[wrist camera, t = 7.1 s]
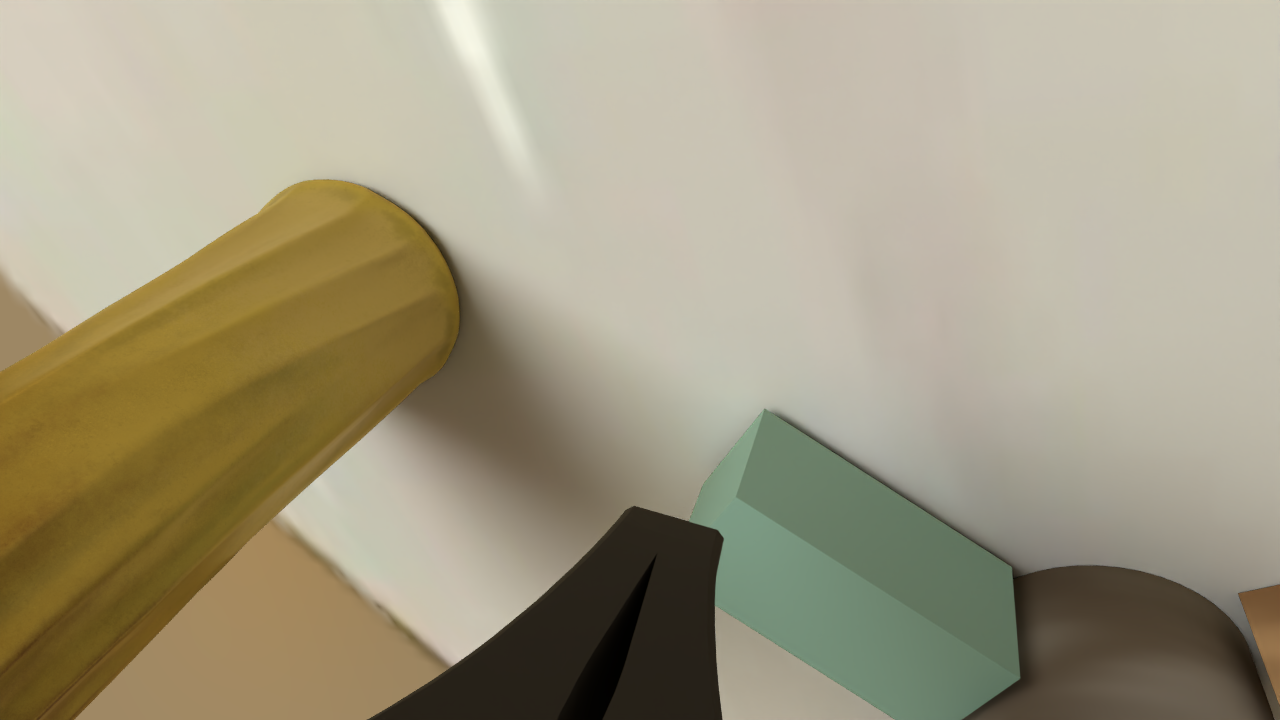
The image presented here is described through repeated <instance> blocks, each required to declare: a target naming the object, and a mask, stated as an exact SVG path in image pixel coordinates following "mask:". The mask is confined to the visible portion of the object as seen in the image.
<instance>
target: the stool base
mask: <svg viewBox="0 0 1280 720" xmlns="http://www.w3.org/2000/svg"><path fill="white" fill-rule="evenodd" d="M1013 589H1014V602H1015V615H1016V628H1017V641H1018V654H1019V667H1020V679H1019V680H1018V681H1016V682H1015V683H1013V684H1012V685H1011V686H1009V687H1008V688H1006V689H1005V690H1003V691H1002V692H1001V693H999V694H998V695H996V696H995V697H993V698H992V699H991V700H989V701H988V702H986V703H985V704H983V705H982V706H981V707H979V708H978V709H976V710H975V711H973V712H972V713H971V714H969V715H968V716H966V717H965V718H963V719H962V720H1275V719H1274V717H1273V714H1272V711H1271V708H1270V705H1269V703H1268V700H1267V697H1266V694H1265V691H1264V689H1263V686H1262V683H1261V680H1260V678H1259V675H1258V672H1257V669H1256V666H1255V664H1254V661H1253V658H1252V655H1251V653H1250V650H1249V647H1248V645H1247V642H1246V640H1245V639H1244V637H1243V636H1242V634H1241V632H1240V631H1239V629H1238V628H1237V627H1236V625H1235V624H1234V623H1233V622H1232V621H1231V620H1230V618H1229V617H1228V616H1227V615H1226V614H1225V613H1223V612H1222V611H1221V610H1220V609H1219V608H1218V607H1217V606H1215V605H1214V604H1213V603H1211V602H1210V601H1208V600H1207V599H1205V598H1204V597H1202V596H1201V595H1199V594H1198V593H1196V592H1194V591H1192V590H1190V589H1188V588H1186V587H1184V586H1182V585H1180V584H1178V583H1175V582H1173V581H1170V580H1167V579H1165V578H1162V577H1159V576H1156V575H1152V574H1148V573H1145V572H1141V571H1136V570H1131V569H1125V568H1119V567H1108V566H1069V567H1058V568H1052V569H1047V570H1042V571H1037V572H1034V573H1030V574H1027V575H1024V576H1021V577H1018V578H1016V579H1013ZM1238 594H1239V597H1240V600H1241V602H1242V605H1243V608H1244V611H1245V613H1246V616H1247V619H1248V621H1249V624H1250V627H1251V629H1252V632H1253V635H1254V638H1255V640H1256V643H1257V646H1258V648H1259V651H1260V654H1261V656H1262V659H1263V662H1264V665H1265V667H1266V670H1267V673H1268V675H1269V678H1270V681H1271V684H1272V686H1273V689H1274V692H1275V694H1276V697H1277V700H1278V702H1279V705H1280V585H1276V586H1271V587H1267V588H1262V589H1257V590H1252V591H1248V592H1243V593H1238Z"/></svg>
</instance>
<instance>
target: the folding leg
mask: <svg viewBox="0 0 1280 720" xmlns="http://www.w3.org/2000/svg"><path fill="white" fill-rule="evenodd" d="M689 522H692V523H696V524H699V525H703V526H706V527H710V528H713V529H716V530H718V531H719V532H720V534H721V535H722V536H723V538H724V541H723V546H722V551H721V556H720V560H719V565H718V570H717V575H716V587H715V606H717V607H718V608H720V609H722V610H723V611H725V612H726V613H728V614H729V615H731V616H733V617H734V618H736V619H737V620H739V621H740V622H742V623H744V624H745V625H747V626H748V627H750V628H752V629H753V630H755V631H756V632H758V633H759V634H761V635H763V636H764V637H766V638H767V639H769V640H770V641H772V642H774V643H775V644H777V645H778V646H780V647H781V648H783V649H785V650H786V651H788V652H789V653H791V654H793V655H794V656H796V657H797V658H799V659H800V660H802V661H804V662H805V663H807V664H808V665H810V666H811V667H813V668H815V669H816V670H818V671H819V672H821V673H822V674H824V675H826V676H827V677H829V678H830V679H832V680H833V681H835V682H837V683H838V684H840V685H841V686H843V687H845V688H846V689H848V690H849V691H851V692H852V693H854V694H856V695H857V696H859V697H860V698H862V699H863V700H865V701H867V702H868V703H870V704H871V705H873V706H874V707H876V708H878V709H879V710H881V711H882V712H884V713H886V714H887V715H889V716H890V717H892V718H893V719H895V720H962V719H963V718H965V717H966V716H968V715H969V714H971V713H972V712H973V711H975V710H976V709H978V708H979V707H981V706H982V705H983V704H985V703H986V702H988V701H989V700H991V699H992V698H993V697H995V696H996V695H998V694H999V693H1001V692H1002V691H1003V690H1005V689H1006V688H1008V687H1009V686H1011V685H1012V684H1013V683H1015V682H1016V681H1018V680H1019V679H1020V667H1019V654H1018V641H1017V628H1016V615H1015V602H1014V589H1013V576H1012V567H1011V566H1009V565H1008V564H1006V563H1005V562H1003V561H1002V560H1000V559H998V558H997V557H995V556H994V555H992V554H991V553H989V552H988V551H986V550H984V549H983V548H981V547H980V546H978V545H977V544H975V543H974V542H972V541H970V540H969V539H967V538H966V537H964V536H963V535H961V534H960V533H958V532H956V531H955V530H953V529H952V528H950V527H949V526H947V525H945V524H944V523H942V522H941V521H939V520H938V519H936V518H935V517H933V516H931V515H930V514H928V513H927V512H925V511H924V510H922V509H921V508H919V507H917V506H916V505H914V504H913V503H911V502H910V501H908V500H907V499H905V498H903V497H902V496H900V495H899V494H897V493H896V492H894V491H892V490H891V489H889V488H888V487H886V486H885V485H883V484H882V483H880V482H878V481H877V480H875V479H874V478H872V477H871V476H869V475H868V474H866V473H864V472H863V471H861V470H860V469H858V468H857V467H855V466H854V465H852V464H850V463H849V462H847V461H846V460H844V459H843V458H841V457H839V456H838V455H836V454H835V453H833V452H832V451H830V450H829V449H827V448H825V447H824V446H822V445H821V444H819V443H818V442H816V441H815V440H813V439H811V438H810V437H808V436H807V435H805V434H804V433H802V432H801V431H799V430H797V429H796V428H794V427H793V426H791V425H790V424H788V423H786V422H785V421H783V420H782V419H780V418H779V417H777V416H776V415H774V414H772V413H771V412H769V411H768V410H766V409H764V410H763V411H762V413H761V414H760V415H759V416H758V417H757V419H756V420H755V421H754V422H753V424H752V425H751V426H750V427H749V428H748V430H747V431H746V432H745V433H744V435H743V436H742V437H741V438H740V440H739V441H738V442H737V443H736V444H735V446H734V447H733V448H732V449H731V451H730V452H729V453H728V454H727V456H726V457H725V458H724V459H723V460H722V462H721V463H720V464H719V465H718V467H717V468H716V469H715V470H714V472H713V473H712V474H711V475H710V476H709V478H708V479H707V480H706V481H705V483H704V484H703V486H702V489H701V491H700V494H699V497H698V499H697V502H696V504H695V507H694V510H693V512H692V515H691V517H690V520H689Z"/></svg>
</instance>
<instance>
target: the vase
mask: <svg viewBox="0 0 1280 720" xmlns="http://www.w3.org/2000/svg"><path fill="white" fill-rule="evenodd" d="M459 324H460V309H459V299H458V294H457V290H456V286H455V283H454V280H453V277H452V275H451V272H450V270H449V267H448V265H447V263H446V261H445V259H444V257H443V256H442V254H441V252H440V250H439V249H438V247H437V246H436V245H435V243H434V242H433V241H432V239H431V238H430V237H429V235H428V234H427V233H426V231H425V230H424V229H423V228H422V227H421V226H420V225H419V224H418V223H417V222H416V221H415V220H414V219H413V218H412V217H411V216H409V215H408V214H407V213H406V212H405V211H403V210H402V209H400V208H399V207H398V206H396V205H395V204H393V203H391V202H390V201H388V200H386V199H385V198H383V197H381V196H380V195H378V194H376V193H374V192H372V191H371V190H369V189H367V188H365V187H362V186H359V185H357V184H354V183H349V182H345V181H339V180H329V179H328V180H309V181H303V182H300V183H297V184H294V185H292V186H290V187H288V188H286V189H285V190H283V191H282V192H280V193H279V194H277V195H276V196H275V197H274V198H273V199H271V200H270V201H269V202H268V203H267V204H266V205H265V206H264V207H263V208H262V209H261V211H260V212H259V213H258V214H256V215H254V216H253V217H251V218H249V219H248V220H246V221H244V222H243V223H241V224H240V225H238V226H236V227H235V228H233V229H232V230H230V231H228V232H227V233H225V234H224V235H222V236H221V237H219V238H218V239H216V240H215V241H213V242H212V243H210V244H209V245H207V246H206V247H204V248H203V249H201V250H200V251H198V252H197V253H195V254H194V255H192V256H191V257H189V258H188V259H186V260H185V261H183V262H182V263H180V264H179V265H177V266H175V267H174V268H172V269H170V270H169V271H167V272H165V273H164V274H162V275H160V276H159V277H157V278H155V279H154V280H152V281H150V282H149V283H147V284H145V285H144V286H142V287H140V288H139V289H137V290H135V291H134V292H132V293H130V294H129V295H127V296H125V297H123V298H122V299H120V300H118V301H117V302H115V303H113V304H112V305H110V306H108V307H107V308H105V309H103V310H102V311H100V312H98V313H97V314H95V315H94V316H92V317H90V318H89V319H87V320H86V321H84V322H82V323H81V324H79V325H78V326H76V327H74V328H73V329H71V330H70V331H68V332H66V333H65V334H63V335H62V336H60V337H58V338H57V339H55V340H54V341H52V342H50V343H49V344H48V345H46V346H44V347H42V348H41V349H39V350H37V351H36V352H34V353H32V354H31V355H29V356H27V357H25V358H24V359H22V360H20V361H19V362H17V363H15V364H13V365H12V366H10V367H8V368H6V369H5V370H3V371H1V372H0V720H74V719H75V718H76V717H77V716H78V715H79V714H80V713H81V712H82V711H83V710H84V709H85V708H86V707H87V706H88V705H89V704H90V703H91V702H92V701H93V700H94V699H95V698H96V697H97V696H98V695H99V694H100V693H101V692H102V691H103V690H104V689H105V688H106V687H107V686H108V685H109V684H110V683H111V682H112V681H113V680H114V679H115V678H116V676H117V675H118V674H119V673H120V672H121V671H122V670H123V669H124V668H125V667H126V666H127V665H128V664H129V663H130V662H131V661H132V660H133V659H134V658H135V657H136V656H137V655H138V654H139V652H141V651H142V650H143V649H144V647H146V646H147V645H148V643H149V642H150V641H151V640H152V639H153V638H154V637H155V636H156V635H157V634H158V633H159V632H160V631H161V630H162V629H163V628H164V627H165V626H166V625H167V624H168V623H169V622H170V621H171V620H172V619H173V618H174V617H175V615H177V614H178V612H179V611H180V610H181V609H182V608H183V607H184V606H185V605H186V604H187V603H188V602H189V601H190V600H191V599H192V598H193V597H194V596H195V594H196V593H197V592H198V591H199V590H200V589H202V588H203V587H204V585H206V584H207V583H208V582H209V581H210V580H211V579H212V578H213V577H214V576H215V575H216V574H217V573H218V572H219V571H220V570H221V569H222V568H223V567H224V566H225V565H226V564H227V563H228V562H229V561H230V560H231V559H232V558H233V557H234V556H235V554H237V552H238V551H239V550H240V549H241V548H242V547H243V546H244V545H245V544H246V543H247V542H248V541H249V540H250V539H251V538H252V537H253V536H254V535H256V534H257V533H258V532H259V531H260V530H261V529H262V528H263V527H264V526H265V525H266V524H267V523H268V522H269V521H270V520H272V519H273V518H274V517H275V516H276V515H277V514H278V513H279V512H280V511H281V510H282V509H284V508H285V507H286V506H287V505H288V504H289V503H290V502H291V501H292V500H293V499H294V498H295V497H297V496H298V495H299V494H300V493H301V492H302V491H303V490H304V489H305V488H306V487H308V486H309V485H310V484H311V483H312V482H313V481H314V480H315V479H316V478H318V477H319V476H320V475H321V474H322V473H323V472H324V471H326V470H327V469H328V468H329V467H330V466H331V465H332V464H333V463H335V462H336V461H337V460H338V459H339V458H340V457H341V456H343V455H344V454H345V453H346V452H347V451H348V450H349V449H351V448H352V447H353V446H354V445H355V444H356V443H357V442H358V441H360V440H361V439H362V438H363V437H364V436H365V435H366V434H367V433H368V432H369V431H371V430H372V429H373V428H374V427H375V426H376V425H377V424H378V423H379V422H380V421H382V420H383V419H384V418H385V417H386V416H387V415H388V414H389V413H390V412H391V411H392V410H393V409H395V408H396V407H397V406H398V405H399V404H400V403H401V402H402V401H403V400H404V399H405V398H406V397H407V396H408V395H409V394H410V393H411V392H412V391H413V390H415V389H416V388H417V387H418V386H419V385H420V384H421V383H423V382H424V381H426V380H428V379H429V378H431V377H432V376H434V375H435V374H436V373H437V372H438V371H439V370H440V369H441V368H442V367H443V366H444V364H445V362H446V361H447V359H448V357H449V355H450V353H451V351H452V349H453V347H454V344H455V341H456V339H457V336H458V332H459Z"/></svg>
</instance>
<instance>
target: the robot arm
mask: <svg viewBox="0 0 1280 720" xmlns="http://www.w3.org/2000/svg"><path fill="white" fill-rule="evenodd" d="M723 541H724V538H723V536H722V535H721V534H720V532H719V531H718V530H716V529H713V528H710V527H706V526H703V525H699V524H696V523H692V522H689V521H685V520H682V519H678V518H675V517H671V516H668V515H664V514H661V513H657V512H654V511H650V510H647V509H643V508H640V507H636V506H633V507H631V508H629V509H627V510H625V512H624V513H623V514H622V515H621V517H620V518H619V519H618V520H617V521H616V523H615V524H614V525H613V526H612V527H611V528H610V529H609V530H608V532H607V533H606V534H605V535H604V536H603V537H602V538H601V539H600V540H599V541H598V542H597V543H596V544H595V546H594V547H593V548H592V549H591V550H590V551H589V552H588V553H587V554H586V555H585V556H584V557H583V558H582V559H581V560H580V561H579V562H578V563H577V564H576V565H575V566H574V567H573V568H571V569H570V570H569V571H568V572H567V573H566V574H565V575H564V576H563V577H562V578H561V579H560V580H559V581H557V582H556V583H555V584H554V585H553V586H552V587H551V588H550V589H549V590H548V591H547V592H546V593H545V594H544V595H542V596H541V597H540V598H539V599H538V600H537V601H536V602H534V603H533V604H532V605H531V606H530V607H528V608H527V609H526V610H525V611H524V612H522V613H521V614H520V615H519V616H518V617H516V618H515V619H514V620H513V621H511V622H510V623H509V624H508V625H507V626H505V627H504V628H503V629H502V630H500V631H499V632H498V633H497V634H496V635H494V636H493V637H492V638H491V639H489V640H488V641H487V642H485V643H484V644H483V645H481V646H480V647H479V648H477V649H476V650H475V651H473V652H472V653H471V654H469V655H468V656H466V657H465V658H464V659H462V660H461V661H459V662H458V663H457V664H455V665H454V666H452V667H451V668H449V669H448V670H446V671H445V672H443V673H442V674H441V675H439V676H438V677H436V678H435V679H433V680H432V681H430V682H429V683H427V684H425V685H424V686H422V687H421V688H419V689H417V690H416V691H414V692H413V693H411V694H410V695H408V696H406V697H405V698H403V699H401V700H400V701H398V702H397V703H395V704H393V705H392V706H390V707H388V708H387V709H385V710H383V711H382V712H380V713H378V714H377V715H375V716H373V717H371V718H370V719H368V720H722V712H721V704H720V695H719V686H718V675H717V663H716V642H715V587H716V575H717V570H718V565H719V560H720V556H721V551H722V546H723Z"/></svg>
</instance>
